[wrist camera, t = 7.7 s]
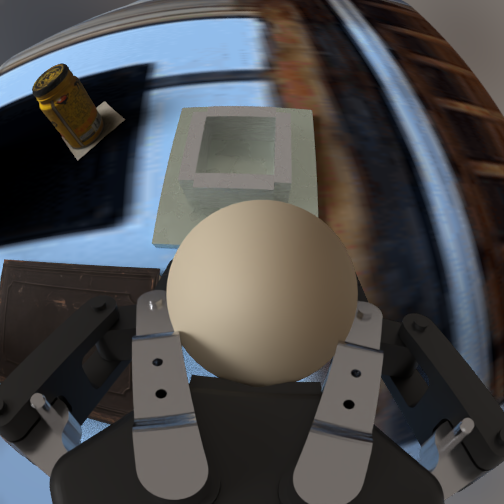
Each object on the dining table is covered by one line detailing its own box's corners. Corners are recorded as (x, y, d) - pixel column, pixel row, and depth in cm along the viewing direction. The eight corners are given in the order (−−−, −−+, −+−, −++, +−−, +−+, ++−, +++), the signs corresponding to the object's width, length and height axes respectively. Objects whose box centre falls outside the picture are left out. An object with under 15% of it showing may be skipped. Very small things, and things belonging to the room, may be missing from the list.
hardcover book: (14, 264, 30) (4, 259, 27) (166, 274, 29) (158, 268, 27) (5, 381, 25) (-6, 381, 23) (159, 429, 24) (151, 436, 22)
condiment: (62, 138, 35) (22, 87, 23) (105, 102, 36) (74, 45, 25) (78, 161, 33) (32, 105, 22) (126, 121, 35) (92, 57, 23)
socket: (155, 247, 29) (136, 228, 24) (184, 114, 34) (175, 85, 29) (316, 255, 28) (327, 237, 23) (310, 116, 34) (316, 86, 29)
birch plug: (213, 357, 16) (158, 376, 7) (220, 274, 18) (180, 196, 8) (299, 362, 16) (354, 388, 7) (303, 279, 18) (354, 206, 8)
